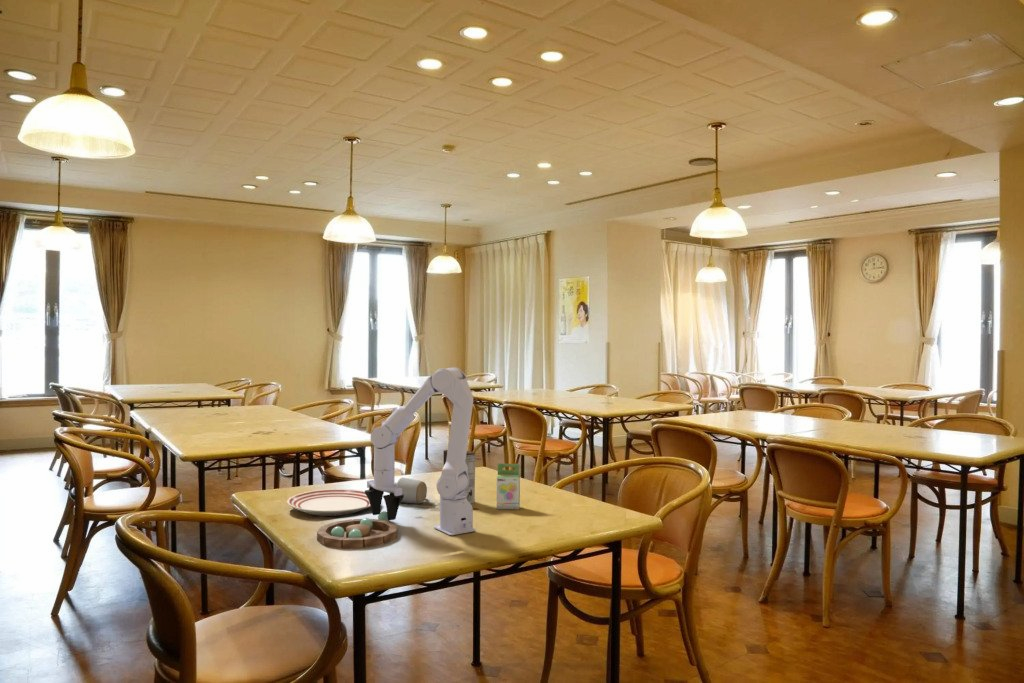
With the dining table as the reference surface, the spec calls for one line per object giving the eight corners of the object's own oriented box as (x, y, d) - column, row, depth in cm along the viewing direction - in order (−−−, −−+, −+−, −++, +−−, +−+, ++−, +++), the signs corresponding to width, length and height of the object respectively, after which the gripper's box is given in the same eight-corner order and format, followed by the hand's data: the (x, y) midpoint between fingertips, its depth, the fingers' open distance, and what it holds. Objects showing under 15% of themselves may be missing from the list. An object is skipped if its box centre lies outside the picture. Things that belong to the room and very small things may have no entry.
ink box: (496, 509, 215) (496, 465, 215) (497, 506, 219) (497, 463, 219) (519, 510, 215) (519, 466, 215) (519, 506, 219) (520, 463, 218)
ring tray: (410, 541, 181) (410, 530, 181) (335, 555, 169) (335, 543, 169) (377, 524, 197) (377, 513, 197) (307, 535, 186) (307, 524, 186)
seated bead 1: (346, 540, 180) (346, 527, 180) (333, 542, 178) (333, 529, 178) (341, 537, 183) (341, 524, 183) (328, 539, 181) (328, 526, 181)
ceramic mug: (417, 506, 219) (418, 481, 219) (394, 504, 221) (394, 479, 221) (432, 499, 229) (432, 475, 229) (409, 497, 231) (409, 474, 231)
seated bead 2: (364, 543, 177) (364, 529, 177) (351, 545, 176) (351, 531, 175) (358, 540, 180) (358, 526, 180) (346, 542, 178) (346, 528, 178)
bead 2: (392, 523, 198) (392, 511, 198) (381, 525, 196) (381, 513, 196) (387, 521, 201) (387, 509, 201) (375, 523, 199) (376, 511, 199)
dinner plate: (397, 503, 223) (397, 493, 223) (341, 524, 198) (342, 512, 198) (327, 495, 234) (327, 485, 234) (266, 514, 209) (267, 502, 209)
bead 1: (374, 529, 190) (374, 517, 190) (369, 533, 187) (370, 520, 187) (362, 528, 191) (362, 515, 191) (357, 532, 187) (357, 519, 187)
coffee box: (442, 500, 227) (442, 450, 226) (458, 497, 231) (458, 448, 231) (459, 505, 220) (459, 453, 220) (475, 502, 224) (476, 451, 224)
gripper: (411, 470, 196) (410, 519, 196) (381, 463, 206) (381, 509, 206) (390, 474, 191) (389, 524, 191) (360, 466, 201) (360, 514, 202)
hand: (383, 517), depth 198 cm, fingers open, 7 cm apart
